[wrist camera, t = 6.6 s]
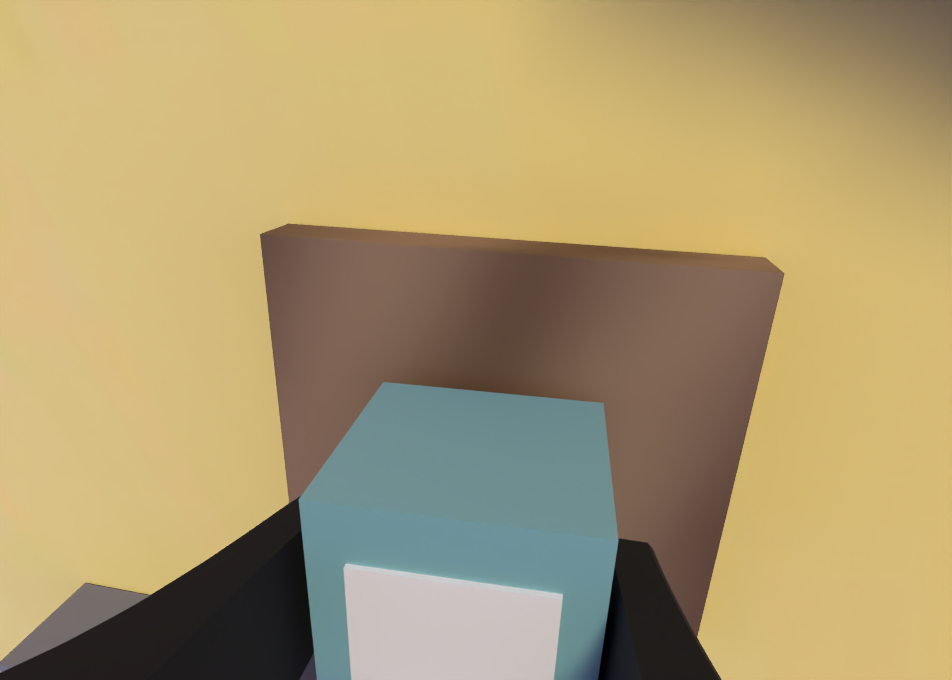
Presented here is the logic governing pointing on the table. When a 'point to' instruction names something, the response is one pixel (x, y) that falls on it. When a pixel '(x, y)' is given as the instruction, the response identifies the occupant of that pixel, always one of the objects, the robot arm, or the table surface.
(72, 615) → the bin
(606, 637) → the robot arm
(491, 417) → the labelled block
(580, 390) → the pad
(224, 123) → the table surface
